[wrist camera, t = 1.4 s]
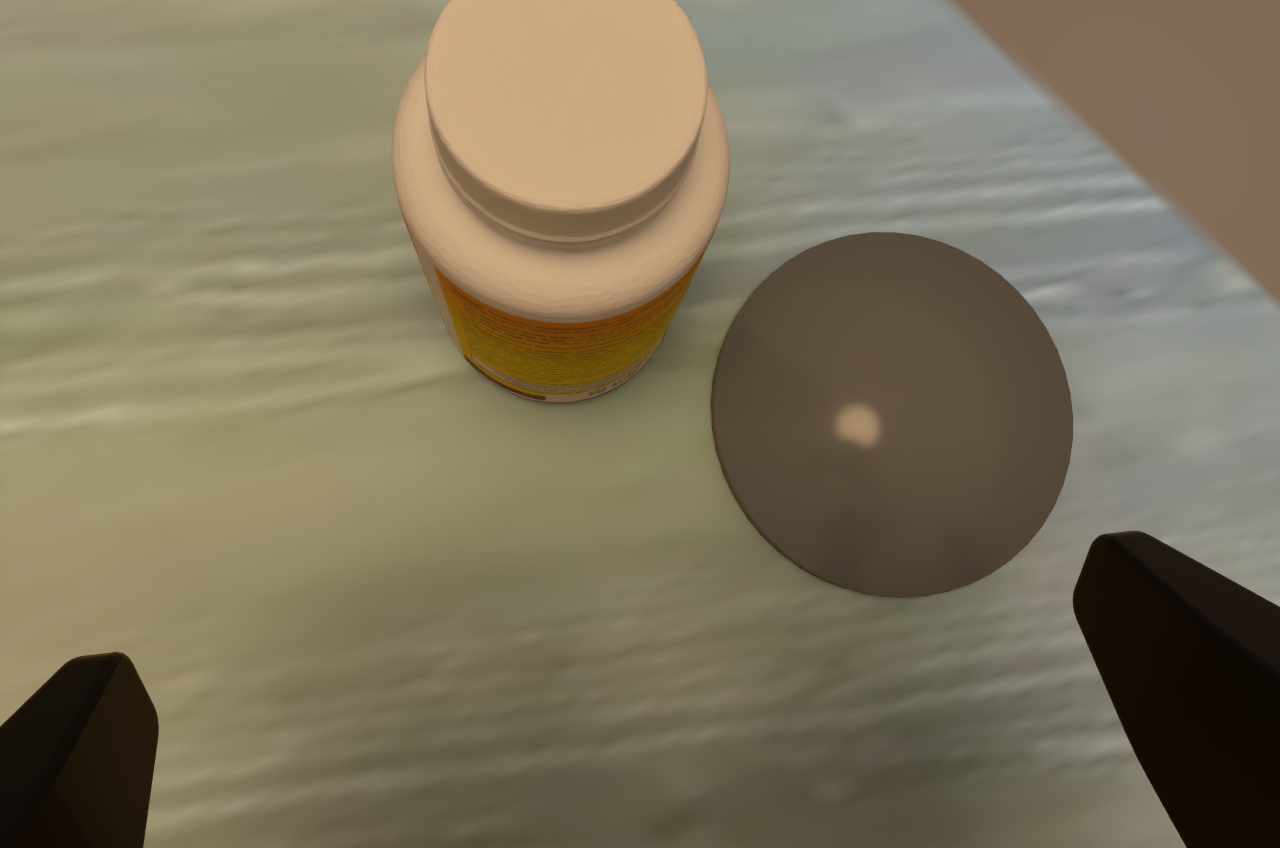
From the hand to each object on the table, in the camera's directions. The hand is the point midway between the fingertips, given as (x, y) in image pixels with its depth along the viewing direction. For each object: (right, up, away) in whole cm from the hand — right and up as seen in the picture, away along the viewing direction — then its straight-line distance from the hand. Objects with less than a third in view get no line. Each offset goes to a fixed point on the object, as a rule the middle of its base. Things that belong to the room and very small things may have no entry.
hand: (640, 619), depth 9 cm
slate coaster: (+6, +2, +15) cm, 16 cm away
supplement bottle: (-2, +5, +14) cm, 15 cm away
